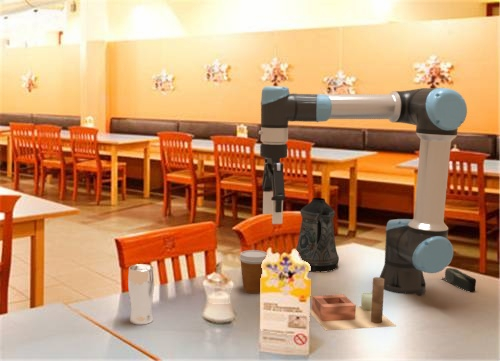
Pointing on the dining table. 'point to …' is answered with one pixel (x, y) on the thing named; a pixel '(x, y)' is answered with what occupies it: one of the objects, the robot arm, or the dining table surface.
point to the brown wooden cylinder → (377, 300)
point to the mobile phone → (460, 279)
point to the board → (354, 323)
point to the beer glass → (141, 293)
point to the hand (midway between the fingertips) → (272, 218)
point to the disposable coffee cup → (251, 269)
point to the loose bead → (366, 301)
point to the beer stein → (318, 236)
